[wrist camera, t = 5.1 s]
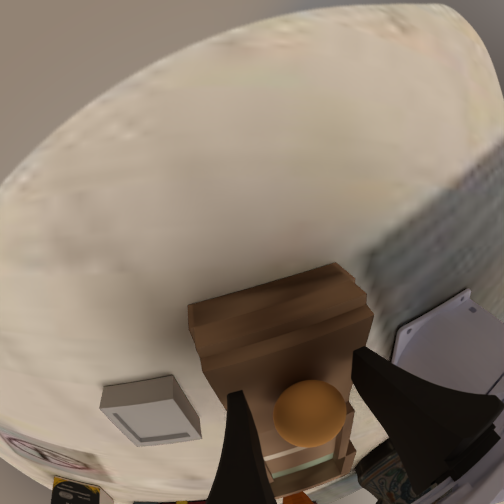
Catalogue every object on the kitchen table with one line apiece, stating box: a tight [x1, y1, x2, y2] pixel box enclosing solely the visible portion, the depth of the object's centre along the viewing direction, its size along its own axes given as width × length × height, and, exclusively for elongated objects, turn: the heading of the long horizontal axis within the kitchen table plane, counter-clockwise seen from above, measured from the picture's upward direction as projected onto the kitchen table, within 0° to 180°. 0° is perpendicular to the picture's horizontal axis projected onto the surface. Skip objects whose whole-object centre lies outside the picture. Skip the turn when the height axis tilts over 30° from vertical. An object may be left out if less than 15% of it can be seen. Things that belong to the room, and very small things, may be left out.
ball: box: [273, 380, 346, 448], centre depth 11 cm, size 4×4×4 cm
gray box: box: [99, 375, 202, 447], centre depth 14 cm, size 5×5×2 cm
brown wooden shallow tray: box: [188, 262, 374, 499], centre depth 17 cm, size 10×28×4 cm, turn 11°
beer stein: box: [355, 438, 453, 504], centre depth 20 cm, size 16×19×25 cm
